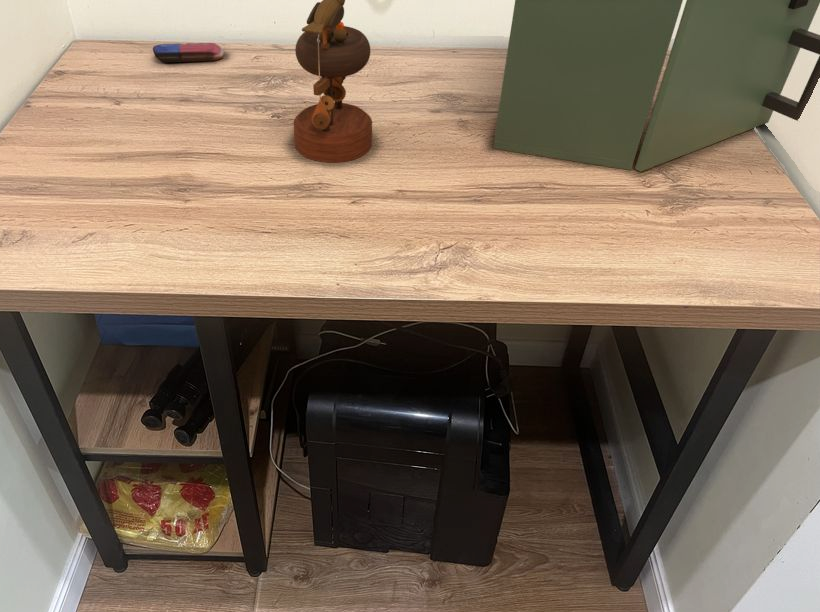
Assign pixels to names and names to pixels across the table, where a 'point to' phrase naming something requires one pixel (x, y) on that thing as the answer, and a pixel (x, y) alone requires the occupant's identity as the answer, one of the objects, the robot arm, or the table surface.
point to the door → (727, 74)
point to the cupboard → (582, 77)
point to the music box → (332, 87)
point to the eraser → (188, 52)
